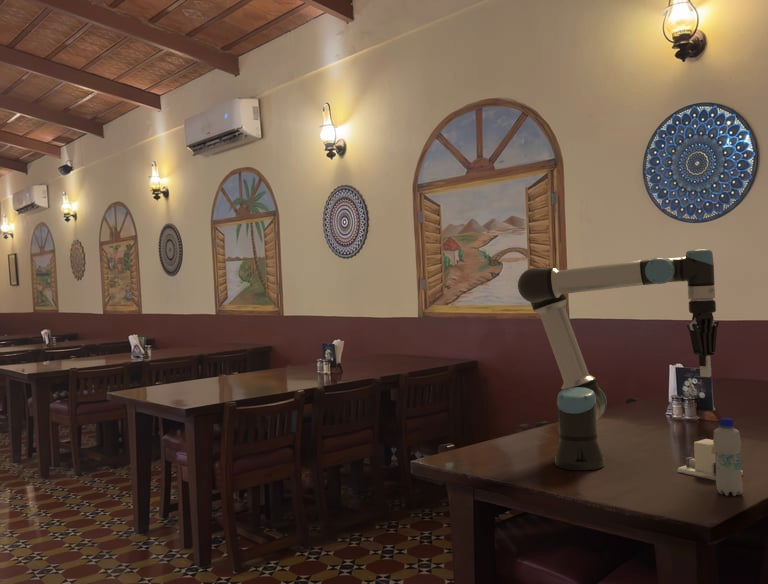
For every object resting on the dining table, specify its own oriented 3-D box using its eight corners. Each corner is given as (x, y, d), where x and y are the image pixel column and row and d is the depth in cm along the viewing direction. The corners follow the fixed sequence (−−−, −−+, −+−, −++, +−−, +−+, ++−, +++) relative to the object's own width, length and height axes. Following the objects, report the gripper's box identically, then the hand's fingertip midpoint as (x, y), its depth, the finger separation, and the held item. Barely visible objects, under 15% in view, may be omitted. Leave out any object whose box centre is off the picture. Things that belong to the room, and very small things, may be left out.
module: (711, 473, 198) (710, 445, 198) (695, 469, 202) (693, 442, 202) (724, 469, 201) (722, 441, 201) (707, 465, 205) (706, 438, 205)
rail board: (722, 481, 193) (721, 469, 193) (677, 471, 205) (677, 460, 205) (743, 475, 198) (742, 463, 198) (698, 465, 210) (697, 454, 210)
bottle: (735, 489, 186) (731, 414, 186) (749, 496, 180) (745, 419, 179) (710, 490, 186) (707, 416, 186) (723, 498, 179) (720, 421, 179)
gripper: (700, 301, 206) (704, 380, 206) (725, 298, 213) (729, 375, 213) (677, 301, 213) (681, 378, 213) (703, 298, 219) (707, 373, 220)
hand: (705, 376), depth 213 cm, fingers closed
